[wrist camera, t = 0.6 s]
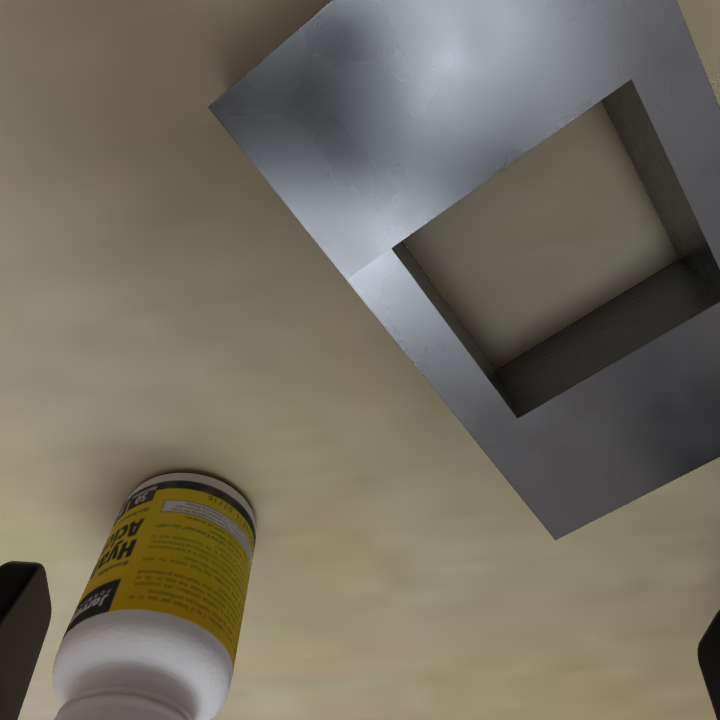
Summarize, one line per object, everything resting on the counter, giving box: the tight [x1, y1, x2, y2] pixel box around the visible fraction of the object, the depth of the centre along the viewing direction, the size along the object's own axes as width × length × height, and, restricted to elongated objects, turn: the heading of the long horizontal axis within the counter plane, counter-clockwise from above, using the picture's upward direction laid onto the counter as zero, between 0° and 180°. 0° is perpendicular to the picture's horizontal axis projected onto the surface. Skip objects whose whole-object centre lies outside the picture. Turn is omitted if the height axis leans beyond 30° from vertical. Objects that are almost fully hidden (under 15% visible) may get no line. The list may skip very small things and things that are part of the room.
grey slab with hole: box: [208, 0, 720, 540], centre depth 18 cm, size 18×10×3 cm, turn 36°
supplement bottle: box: [53, 473, 256, 720], centre depth 21 cm, size 5×5×10 cm
